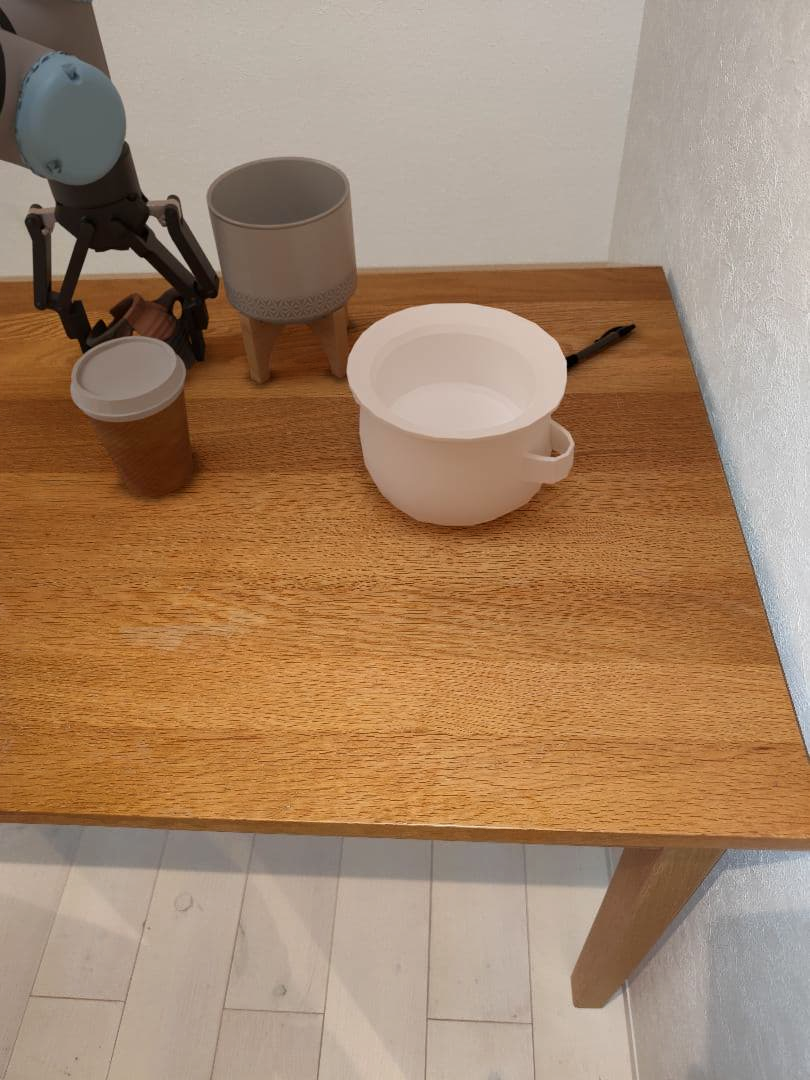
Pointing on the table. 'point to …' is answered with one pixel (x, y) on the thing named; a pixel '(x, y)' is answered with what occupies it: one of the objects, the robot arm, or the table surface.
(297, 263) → the planter
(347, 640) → the table surface
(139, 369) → the disposable coffee cup
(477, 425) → the pot
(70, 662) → the table surface
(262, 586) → the table surface
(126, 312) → the pottery mug
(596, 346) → the pen
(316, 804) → the table surface
